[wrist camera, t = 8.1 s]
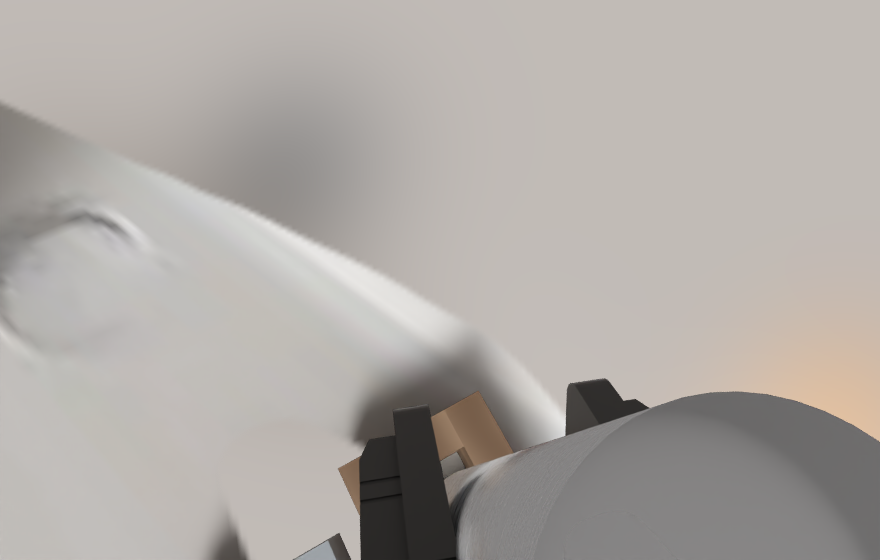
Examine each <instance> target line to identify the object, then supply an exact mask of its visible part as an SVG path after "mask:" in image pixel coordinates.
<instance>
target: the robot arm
mask: <svg viewBox="0 0 880 560" xmlns="http://www.w3.org/2000/svg"><path fill="white" fill-rule="evenodd" d="M646 409H649V407H647V406H645V405H644V404H642V403H641V402H639V401H638V400H636V399H633V400H626V401H623V400H622V398H621V397H620V396H619V394H618V393H617V391H616V390H615V389H614V387H613V386H612V385H611V383H610V382H609V381H608V380H607V379H597V380H590V381H583V382H578V383H570V384H569V386H568V388H567V404H566V434H565V436H567V435H570V434H573V433H576V432H579V431H582V430H585V429H588V428H591V427H594V426H597V425H601V424H604V423H607V422H610V421H613V420H616V419H619V418H622V417H625V416H628V415H631V414H634V413H637V412H640V411H643V410H646ZM393 416H394V425H395V434H396V436H389V437H383V438H376V439H370V440H369V441H368V443H367V445H366V447H365V449H364V451H363V453H362V455H361V457H360V459H359V482H360V539H361V560H456V536H455V532H454V527H453V522H452V517H451V512H450V507H449V502H448V498H447V493H446V488H445V483H444V478H443V473H442V468H441V464H440V459H439V454H438V449H437V444H436V439H435V434H434V430H433V425H432V420H431V415H430V410H429V406H428V404H426V405H420V406H413V407H406V408H399V409H393Z"/></svg>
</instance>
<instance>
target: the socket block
mask: <svg viewBox="0 0 880 560" xmlns="http://www.w3.org/2000/svg"><path fill="white" fill-rule="evenodd" d="M293 560H351V558H350V556H349V554H348V552H347V549H346V547H345V545H344V543H343V540H342V538H341V536H340V534H339V533H338V534H336V535H335V536H333V537H332V538H330V539H328V540H326V541H324V542H323V543H321V544H319V545H318V546H316V547H314V548H312V549H311V550H309V551H307V552H305V553H304V554H302V555H300V556H299V557H297V558H296V559H293Z"/></svg>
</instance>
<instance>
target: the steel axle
mask: <svg viewBox="0 0 880 560" xmlns="http://www.w3.org/2000/svg"><path fill="white" fill-rule="evenodd" d="M444 483H445V488H446V493H447V498H448V502H449V507H450V512H451V517H452V522H453V527H454V532H455V536H456V560H880V442H879V441H877V440H876V439H874V438H873V437H871V436H870V435H868V434H867V433H865V432H863V431H862V430H860V429H859V428H857V427H855V426H854V425H852V424H850V423H848V422H845V421H844V420H842V419H840V418H838V417H836V416H833V415H831V414H829V413H827V412H825V411H823V410H820V409H817V408H814V407H811V406H809V405H806V404H803V403H800V402H798V401H794V400H790V399H785V398H781V397H776V396H772V395H768V394H757V393H748V392H714V393H706V394H699V395H694V396H688V397H683V398H680V399H677V400H674V401H671V402H668V403H665V404H661V405H659V406H655V407H652V408H649V409H646V410H643V411H640V412H637V413H634V414H631V415H628V416H625V417H622V418H619V419H616V420H613V421H610V422H607V423H604V424H601V425H597V426H594V427H591V428H588V429H585V430H582V431H579V432H576V433H573V434H570V435H567V436H564V437H561V438H558V439H555V440H552V441H549V442H546V443H543V444H540V445H537V446H534V447H531V448H527V449H524V450H521V451H518V452H515V453H512V454H509V455H506V456H503V457H500V458H497V459H494V460H491V461H488V462H485V463H482V464H479V465H476V466H473V467H470V468H467V469H464V470H461V471H458V472H455V473H453V474H452V475H450V476H449V477H447V478H446V479H445V480H444Z"/></svg>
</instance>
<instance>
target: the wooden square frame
mask: <svg viewBox="0 0 880 560" xmlns="http://www.w3.org/2000/svg"><path fill="white" fill-rule="evenodd" d="M431 420H432V425H433V430H434V434H435V439H436V444H437V449H438V454H439V459H440V461H441V460H443V459H445V458H446V457H448V456H450V455H452V454H453V453H455V452H457V453H458V454H459V456H460V458H461V460H462V462H463V464H464V466H465V468H466V469H467V468H470V467H473V466H476V465H479V464H482V463H485V462H488V461H491V460H494V459H497V458H500V457H503V456H506V455H509V454H512V453H513V451H512V449H511V447H510V446H509V444H508V442H507V440H506V438H505V437H504V435H503V433H502V431H501V430H500V428H499V426H498V424H497V423H496V421H495V419H494V417H493V415H492V414H491V412H490V410H489V408H488V407H487V405H486V403H485V401H484V399H483V398H482V396H481V394H480V392H479V391H477V392H475V393H473V394H472V395H470V396H468V397H466V398H464V399H463V400H461V401H459V402H457V403H455V404H454V405H452V406H450V407H448V408H446V409H445V410H443V411H441V412H439V413H437V414H436V415H434V416H432V417H431ZM360 457H361V456H360ZM360 457H358V458H356V459H354V460H353V461H351V462H349V463H347V464H346V465H344V466H342V467H340V468H338V470H339V472H340V474H341V476H342V478H343V481H344V483H345V485H346V487H347V489H348V491H349V493H350V496H351V498H352V500H353V502H354V504H355V506H356V509H357V511H358V513H359V515H360V482H359V459H360Z"/></svg>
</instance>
